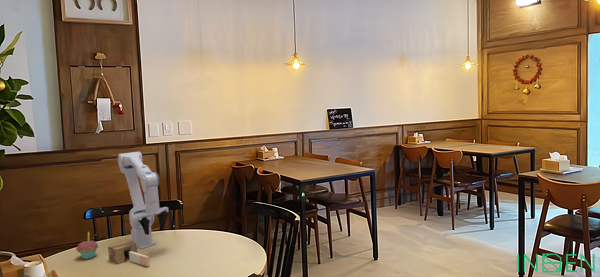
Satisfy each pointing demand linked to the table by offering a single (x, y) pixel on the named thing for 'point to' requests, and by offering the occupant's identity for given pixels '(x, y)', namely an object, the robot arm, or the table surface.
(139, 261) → the pink flat bar
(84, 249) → the cupcake
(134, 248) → the dispenser
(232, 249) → the table surface
